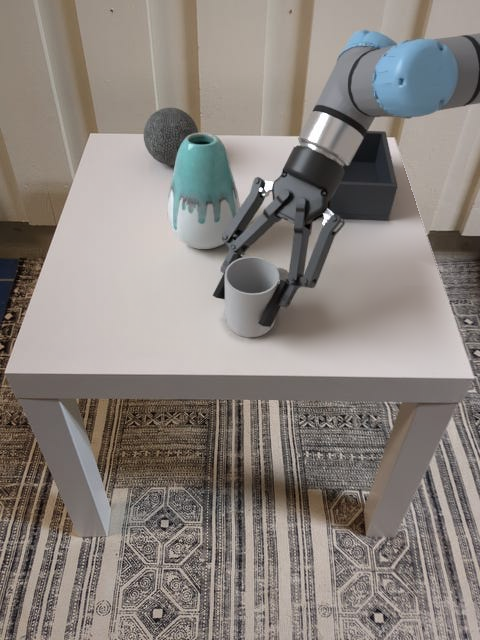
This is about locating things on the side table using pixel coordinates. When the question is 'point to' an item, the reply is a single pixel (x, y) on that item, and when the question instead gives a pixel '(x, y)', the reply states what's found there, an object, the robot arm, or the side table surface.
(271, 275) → the cup
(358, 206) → the open box
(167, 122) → the decorative ball
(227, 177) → the vase
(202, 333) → the side table surface
